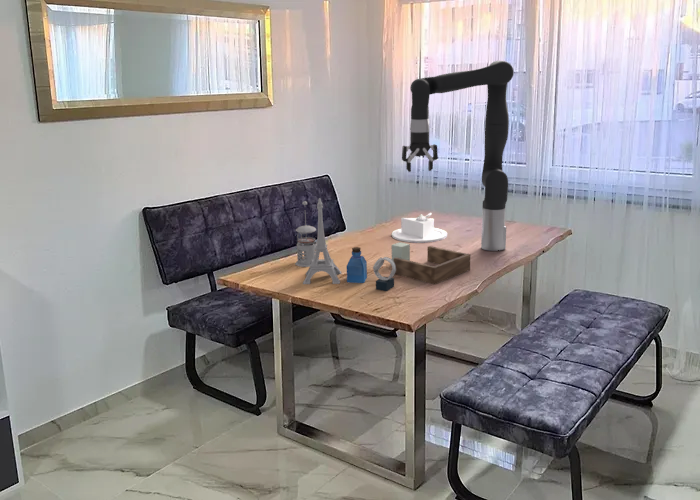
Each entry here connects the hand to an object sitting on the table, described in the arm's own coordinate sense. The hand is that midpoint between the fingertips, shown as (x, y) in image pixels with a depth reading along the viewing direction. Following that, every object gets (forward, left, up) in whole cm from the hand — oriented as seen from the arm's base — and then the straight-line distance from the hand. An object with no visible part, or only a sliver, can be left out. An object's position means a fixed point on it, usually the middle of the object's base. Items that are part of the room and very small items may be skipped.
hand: (419, 171), depth 273 cm
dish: (-6, -23, -34) cm, 41 cm away
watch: (+24, +44, -33) cm, 60 cm away
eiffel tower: (+44, +28, -34) cm, 62 cm away
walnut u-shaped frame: (+3, +30, -33) cm, 45 cm away
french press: (+48, +7, -33) cm, 59 cm away
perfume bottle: (+32, +33, -33) cm, 57 cm away
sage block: (+12, +18, -33) cm, 40 cm away
